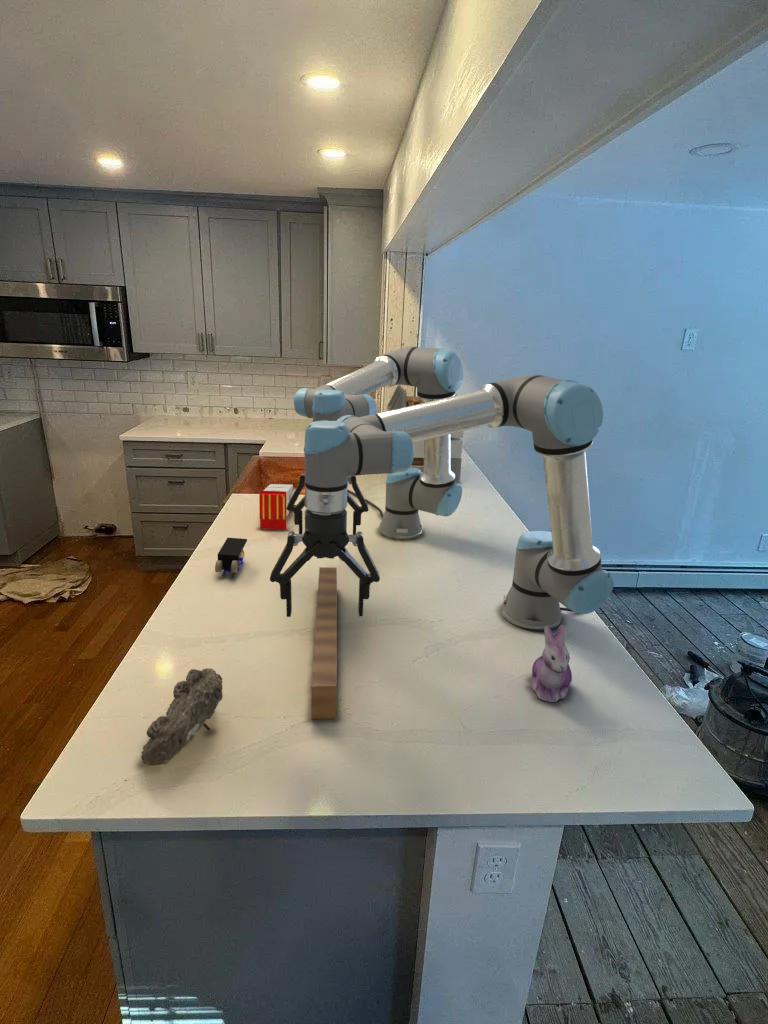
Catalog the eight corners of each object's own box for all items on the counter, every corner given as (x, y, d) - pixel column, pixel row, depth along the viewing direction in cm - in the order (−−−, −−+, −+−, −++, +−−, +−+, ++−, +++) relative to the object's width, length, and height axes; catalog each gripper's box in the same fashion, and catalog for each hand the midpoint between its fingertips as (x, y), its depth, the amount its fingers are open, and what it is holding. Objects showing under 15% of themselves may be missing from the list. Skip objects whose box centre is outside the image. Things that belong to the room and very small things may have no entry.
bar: (319, 591, 157) (319, 567, 155) (336, 591, 158) (336, 567, 155) (311, 718, 109) (311, 686, 106) (336, 718, 109) (336, 686, 107)
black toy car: (238, 584, 162) (249, 557, 175) (236, 562, 158) (247, 536, 172) (215, 584, 161) (227, 556, 175) (212, 561, 158) (225, 535, 171)
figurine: (550, 710, 114) (561, 646, 109) (517, 681, 122) (526, 620, 117) (585, 697, 118) (597, 635, 113) (550, 670, 127) (560, 611, 121)
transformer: (382, 463, 289) (386, 382, 275) (445, 464, 293) (451, 384, 279) (390, 482, 257) (394, 392, 243) (460, 483, 261) (468, 394, 247)
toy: (299, 479, 223) (289, 492, 194) (299, 512, 226) (289, 530, 197) (268, 478, 223) (253, 491, 193) (268, 512, 225) (254, 529, 196)
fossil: (171, 669, 114) (224, 637, 109) (205, 700, 117) (257, 670, 112) (115, 759, 95) (175, 724, 90) (157, 793, 97) (218, 762, 92)
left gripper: (274, 458, 133) (276, 541, 140) (380, 460, 135) (377, 542, 142) (277, 450, 140) (279, 530, 147) (378, 452, 142) (375, 531, 149)
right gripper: (252, 515, 97) (256, 623, 104) (397, 517, 99) (391, 623, 106) (257, 501, 104) (261, 603, 111) (393, 502, 106) (388, 603, 113)
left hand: (327, 536), depth 145 cm, fingers open, 13 cm apart
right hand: (325, 613), depth 109 cm, fingers open, 13 cm apart
